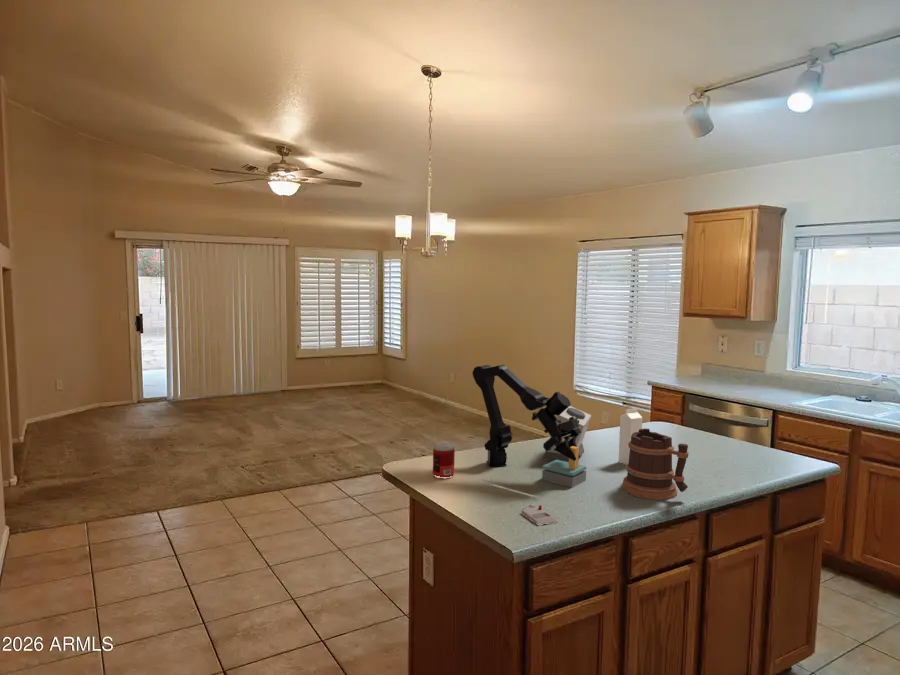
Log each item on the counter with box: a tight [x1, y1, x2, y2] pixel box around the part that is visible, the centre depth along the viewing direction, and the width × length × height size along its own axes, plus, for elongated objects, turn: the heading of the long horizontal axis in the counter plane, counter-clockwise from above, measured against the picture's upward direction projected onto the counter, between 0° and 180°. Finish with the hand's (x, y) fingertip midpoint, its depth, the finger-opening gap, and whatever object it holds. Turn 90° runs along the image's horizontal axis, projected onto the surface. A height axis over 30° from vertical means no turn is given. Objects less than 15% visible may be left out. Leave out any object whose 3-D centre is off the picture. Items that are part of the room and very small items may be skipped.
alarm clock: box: [542, 405, 592, 462], centre depth 236 cm, size 20×16×20 cm
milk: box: [617, 407, 643, 466], centre depth 227 cm, size 6×6×22 cm
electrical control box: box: [521, 504, 559, 524], centre depth 173 cm, size 7×16×3 cm, turn 23°
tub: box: [541, 469, 587, 488], centre depth 205 cm, size 12×10×4 cm
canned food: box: [432, 443, 456, 477], centre depth 209 cm, size 8×8×11 cm
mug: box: [621, 428, 690, 501], centre depth 196 cm, size 18×23×20 cm
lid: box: [542, 446, 587, 477], centre depth 204 cm, size 12×10×10 cm
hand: (577, 459), depth 201 cm, fingers closed on lid, 2 cm apart
